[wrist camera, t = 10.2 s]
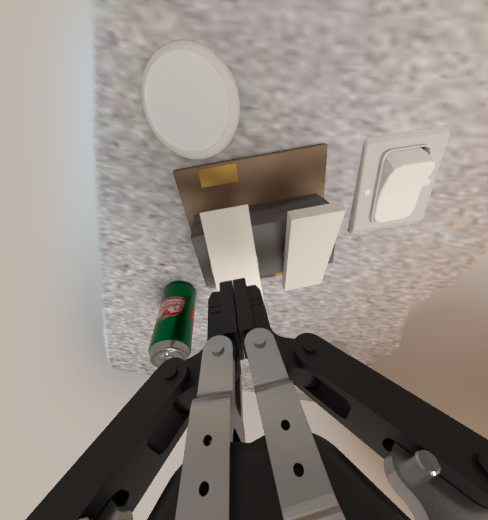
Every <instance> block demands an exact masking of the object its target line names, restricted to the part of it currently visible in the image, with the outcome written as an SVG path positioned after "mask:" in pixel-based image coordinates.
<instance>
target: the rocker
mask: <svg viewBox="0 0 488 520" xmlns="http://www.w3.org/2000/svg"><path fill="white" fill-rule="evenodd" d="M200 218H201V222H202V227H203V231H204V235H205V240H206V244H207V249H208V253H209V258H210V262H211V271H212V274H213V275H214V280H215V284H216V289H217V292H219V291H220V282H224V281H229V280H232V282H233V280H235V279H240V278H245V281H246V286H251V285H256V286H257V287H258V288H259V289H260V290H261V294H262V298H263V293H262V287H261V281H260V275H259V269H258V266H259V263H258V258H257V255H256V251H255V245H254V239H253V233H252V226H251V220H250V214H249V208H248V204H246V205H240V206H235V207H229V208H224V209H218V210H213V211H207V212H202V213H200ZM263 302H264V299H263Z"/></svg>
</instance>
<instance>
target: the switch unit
mask: <svg viewBox="0 0 488 520" xmlns="http://www.w3.org/2000/svg"><path fill="white" fill-rule="evenodd" d="M326 157H327V144H319V145H313V146H307V147H302V148H296V149H290V150H285V151H279V152H273V153H268V154H262V155H257V156H251V157H245V158H240V159H234V160H228V161H223V162H217V163H211V164H206V165H200V166H194V167H189V168H183V169H178V170H174V171H173V174H174V177H175V180H176V183H177V186H178V190H179V193H180V196H181V199H182V202H183V206H184V209H185V212H186V215H187V218H188V221H189V225H190V228H191V231H192V234H191V239H192V242H193V245H194V248H195V252H196V255H197V258H198V261H199V264H200V267H201V270H202V273H203V276H204V279H205V283H206V286H209V288H214V287H216V284H215V280H214V275H213V274H212V271H211V262H210V258H209V253H208V249H207V244H206V240H205V235H204V231H203V227H202V222H201V218H200V213H202V212H207V211H213V210H218V209H224V208H229V207H235V206H240V205H246V204H248V208H249V214H250V220H251V226H252V233H253V239H254V245H255V251H256V255H257V258H258V263H259V266H258V269H259V275H260V279H262V278H267V277H272V276H279V275H283V265H284V256H283V254H284V252H285V238H286V225H287V211H292V210H297V209H303V208H308V207H314V206H319V205H325V204H330V203H329V202H327V201H326V200H325V199H323V198H324V184H325V171H326ZM334 246H335V244H334ZM333 255H334V247H333V250H332V255H330V258H329V261H328V263H333Z"/></svg>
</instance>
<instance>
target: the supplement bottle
mask: <svg viewBox="0 0 488 520" xmlns="http://www.w3.org/2000/svg"><path fill="white" fill-rule="evenodd" d="M141 100H142V106H143V111H144V114H145V117H146V119H147V122H148V124H149V126H150V128H151V130H152V131H153V133H154V134H155V136H156V137H157V138H158V139H159V141H160V142H161V143H162V144H163V145H164V146H165V147H167V148H168V149H169V150H171V151H172V152H174V153H176V154H177V155H179V156H182V157H185V158H189V159H196V160H197V159H206V158H210V157H213V156H215V155H217V154H218V153H220V152H221V151H222V150H224V149H225V148H226V147H227V146H228V144H229V143H230V142H231V140H232V139H233V137H234V135H235V133H236V130H237V127H238V123H239V118H240V97H239V92H238V88H237V85H236V82H235V79H234V77H233V75H232V73H231V71H230V69H229V68H228V66H227V65H226V63H225V62H224V61H223V60H222V58H221V57H220V56H219V55H218V54H216V53H215V52H214V51H213V50H211V49H210V48H209V47H207V46H205V45H203V44H201V43H198V42H195V41H191V40H177V41H172V42H170V43H167V44H165V45H163V46H162V47H160V48H159V49H158V50H157V51H156V52H155V53H154V54H153V55H152V56H151V58H150V59H149V61H148V63H147V65H146V67H145V69H144V72H143V76H142V81H141Z"/></svg>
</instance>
